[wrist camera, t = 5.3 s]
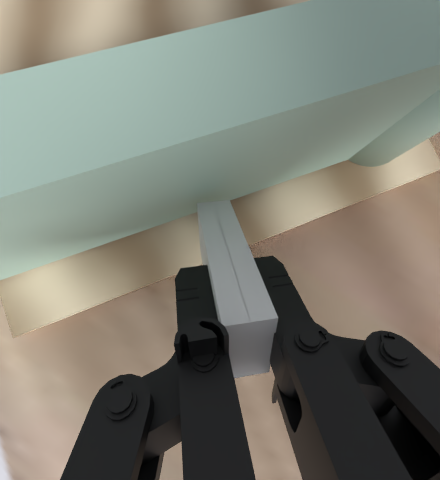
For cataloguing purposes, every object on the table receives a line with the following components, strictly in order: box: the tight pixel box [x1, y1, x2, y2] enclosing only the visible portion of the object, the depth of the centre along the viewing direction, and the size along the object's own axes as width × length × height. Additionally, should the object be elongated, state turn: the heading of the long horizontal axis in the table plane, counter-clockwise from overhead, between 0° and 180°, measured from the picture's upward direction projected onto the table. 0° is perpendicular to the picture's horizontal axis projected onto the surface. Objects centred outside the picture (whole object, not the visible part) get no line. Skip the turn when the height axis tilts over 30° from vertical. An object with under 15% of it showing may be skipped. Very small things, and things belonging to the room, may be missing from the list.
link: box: [0, 0, 440, 280], centre depth 11 cm, size 28×5×8 cm, turn 111°
